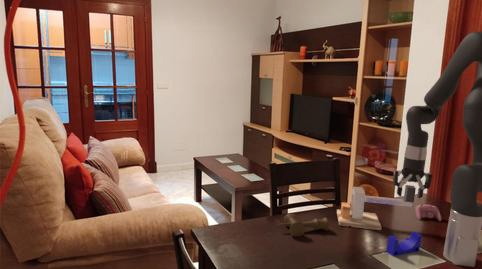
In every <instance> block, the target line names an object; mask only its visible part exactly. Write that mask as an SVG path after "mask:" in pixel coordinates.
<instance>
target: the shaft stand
mask: <svg viewBox="0 0 482 269" xmlns="http://www.w3.org/2000/svg"><path fill="white" fill-rule="evenodd" d="M351 191H352V192H351V200H350V207H351V208H350V217H349V219H345V218H342V214H341V208H340V209H339V208H338V209H336V215H337V220H338V226H342V227H349V226H351V227H350V228H359V229H366V230H367V229H368V230H374V231H375V230H377V231H381V230H382V228H383V227H382V225H381V222H380V220H379V217H378V216H377V214H376V213H374V212H366V211H364V208H365V196H366V192H365V190H364V187H360V186H352V190H351Z"/></svg>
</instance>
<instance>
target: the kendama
mask: <svg viewBox="0 0 482 269" xmlns="http://www.w3.org/2000/svg"><path fill="white" fill-rule="evenodd" d="M277 225H278V226H285V227H286V226H287V227H289V234H290V235H291V236H292V237H295V238H296V237H297V238H298V237H302V236H304V233H305V231H306V228H310V229H314V230H315V231H318V230H323V231H325V232H327V231H328V230H329V228H330V222H329V220H328V218H327V217H323V218H322V219H318V218H313V220H309V221H303V222H301V221H298V216H297V215H296V214H295V213H292V212H291V213H287V214H286V215H285V216H284V217H283V223H282V222H281V223H277Z"/></svg>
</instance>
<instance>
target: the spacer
mask: <svg viewBox="0 0 482 269" xmlns="http://www.w3.org/2000/svg"><path fill="white" fill-rule="evenodd" d="M340 206H341V207H340V210H341V214H342V218H345V219H349V217H350V208H351V207H350V206H351V203H349V202H345V201H343V202H341V205H340Z"/></svg>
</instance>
